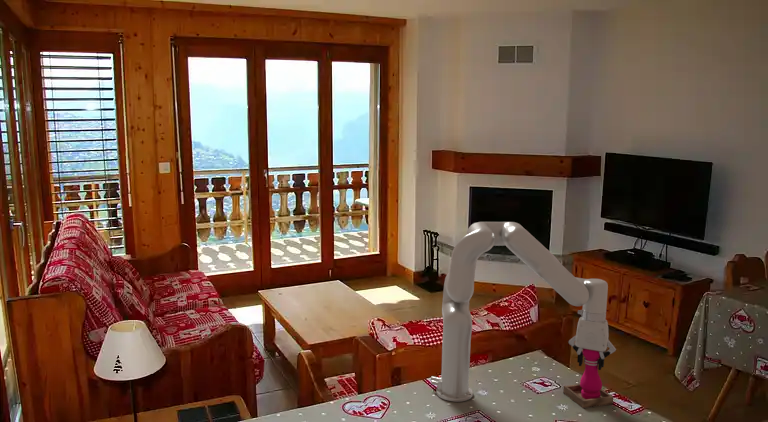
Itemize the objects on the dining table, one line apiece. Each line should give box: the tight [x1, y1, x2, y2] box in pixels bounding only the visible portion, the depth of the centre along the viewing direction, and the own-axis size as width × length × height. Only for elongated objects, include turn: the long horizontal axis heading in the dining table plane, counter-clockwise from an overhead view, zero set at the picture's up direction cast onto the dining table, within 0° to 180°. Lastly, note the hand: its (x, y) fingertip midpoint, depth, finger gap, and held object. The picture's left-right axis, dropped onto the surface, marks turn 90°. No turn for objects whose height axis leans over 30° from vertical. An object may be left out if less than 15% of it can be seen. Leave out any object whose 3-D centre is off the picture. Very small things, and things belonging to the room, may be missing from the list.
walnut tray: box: [563, 383, 614, 409], centre depth 205 cm, size 12×12×3 cm
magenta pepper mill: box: [579, 349, 603, 399], centre depth 204 cm, size 7×7×20 cm
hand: (590, 366), depth 204 cm, fingers open, 5 cm apart
